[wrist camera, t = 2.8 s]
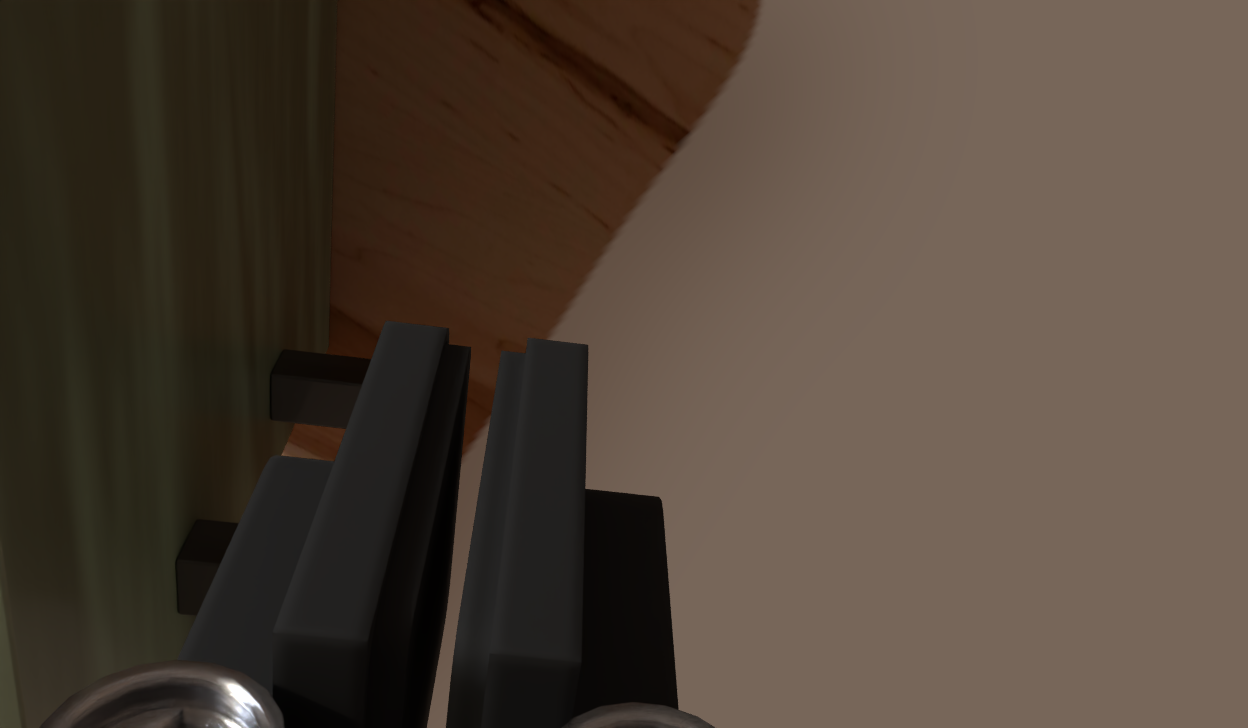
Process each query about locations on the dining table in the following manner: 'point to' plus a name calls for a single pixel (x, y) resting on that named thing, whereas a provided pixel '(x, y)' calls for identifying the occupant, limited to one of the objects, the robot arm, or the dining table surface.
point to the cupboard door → (151, 312)
